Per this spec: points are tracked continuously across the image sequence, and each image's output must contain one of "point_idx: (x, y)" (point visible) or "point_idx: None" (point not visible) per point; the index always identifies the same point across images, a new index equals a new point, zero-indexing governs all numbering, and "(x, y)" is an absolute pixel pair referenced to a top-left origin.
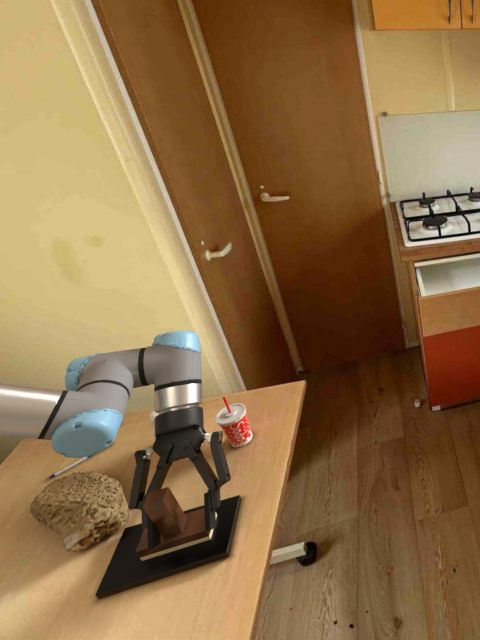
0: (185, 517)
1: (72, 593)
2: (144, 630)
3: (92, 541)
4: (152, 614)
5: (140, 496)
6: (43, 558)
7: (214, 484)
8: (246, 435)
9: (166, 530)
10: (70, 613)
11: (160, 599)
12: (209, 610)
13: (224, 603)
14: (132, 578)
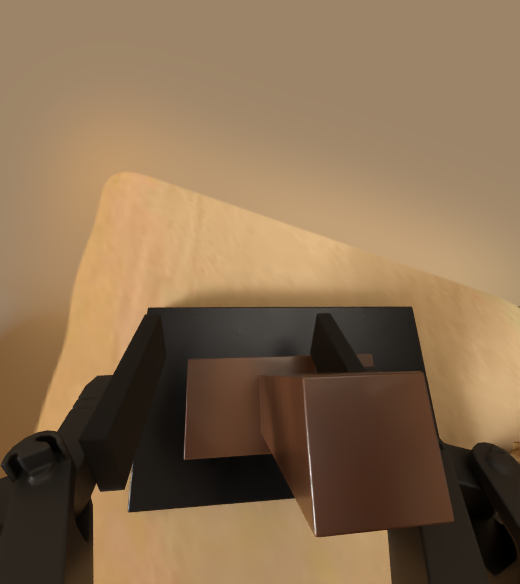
0: (262, 428)
1: (461, 342)
2: (287, 225)
3: (511, 455)
4: (283, 247)
5: (489, 541)
6: None
7: (14, 489)
8: None
9: (300, 373)
10: (437, 301)
11: (279, 269)
12: (178, 217)
13: (151, 219)
14: (352, 317)
